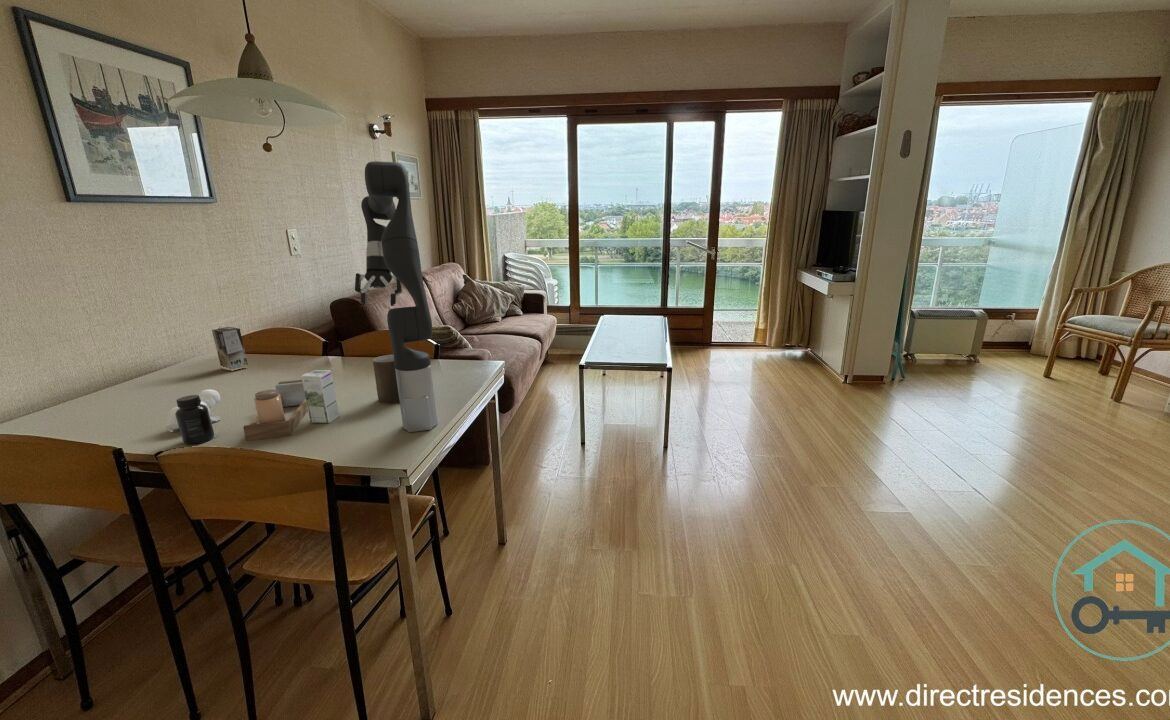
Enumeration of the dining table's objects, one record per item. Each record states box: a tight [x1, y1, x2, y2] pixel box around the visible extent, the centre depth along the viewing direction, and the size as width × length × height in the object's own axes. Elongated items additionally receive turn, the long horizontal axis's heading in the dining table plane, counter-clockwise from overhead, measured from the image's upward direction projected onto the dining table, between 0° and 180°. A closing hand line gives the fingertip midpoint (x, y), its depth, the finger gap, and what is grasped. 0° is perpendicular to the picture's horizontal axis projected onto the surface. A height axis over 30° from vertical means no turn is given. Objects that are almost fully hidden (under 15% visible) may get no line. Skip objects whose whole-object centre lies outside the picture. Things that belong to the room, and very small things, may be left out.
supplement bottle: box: [175, 394, 215, 446], centre depth 130 cm, size 7×7×12 cm
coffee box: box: [211, 326, 249, 369], centre depth 194 cm, size 9×6×16 cm
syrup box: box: [301, 369, 340, 424], centre depth 141 cm, size 6×6×14 cm
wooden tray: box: [242, 379, 308, 442], centre depth 146 cm, size 32×10×6 cm, turn 15°
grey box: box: [274, 382, 306, 408], centre depth 156 cm, size 6×8×7 cm
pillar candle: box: [372, 353, 400, 405], centre depth 156 cm, size 10×10×15 cm
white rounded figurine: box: [164, 388, 221, 432], centre depth 142 cm, size 9×8×15 cm
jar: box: [253, 389, 286, 424], centre depth 135 cm, size 6×6×11 cm
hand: (378, 305), depth 163 cm, fingers open, 8 cm apart
